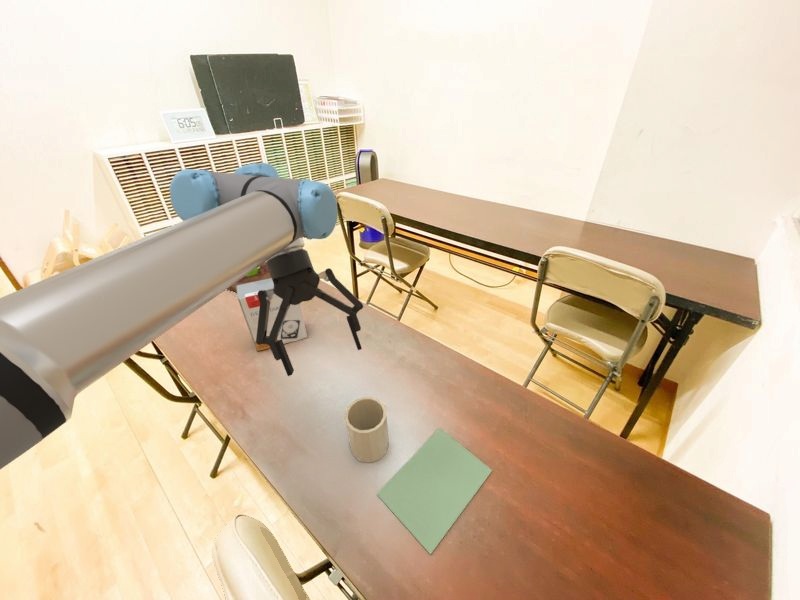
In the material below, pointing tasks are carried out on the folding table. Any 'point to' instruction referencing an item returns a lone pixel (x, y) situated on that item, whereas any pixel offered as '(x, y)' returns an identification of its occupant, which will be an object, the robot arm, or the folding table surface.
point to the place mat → (434, 488)
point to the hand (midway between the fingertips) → (325, 360)
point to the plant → (253, 276)
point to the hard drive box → (250, 307)
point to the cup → (367, 429)
